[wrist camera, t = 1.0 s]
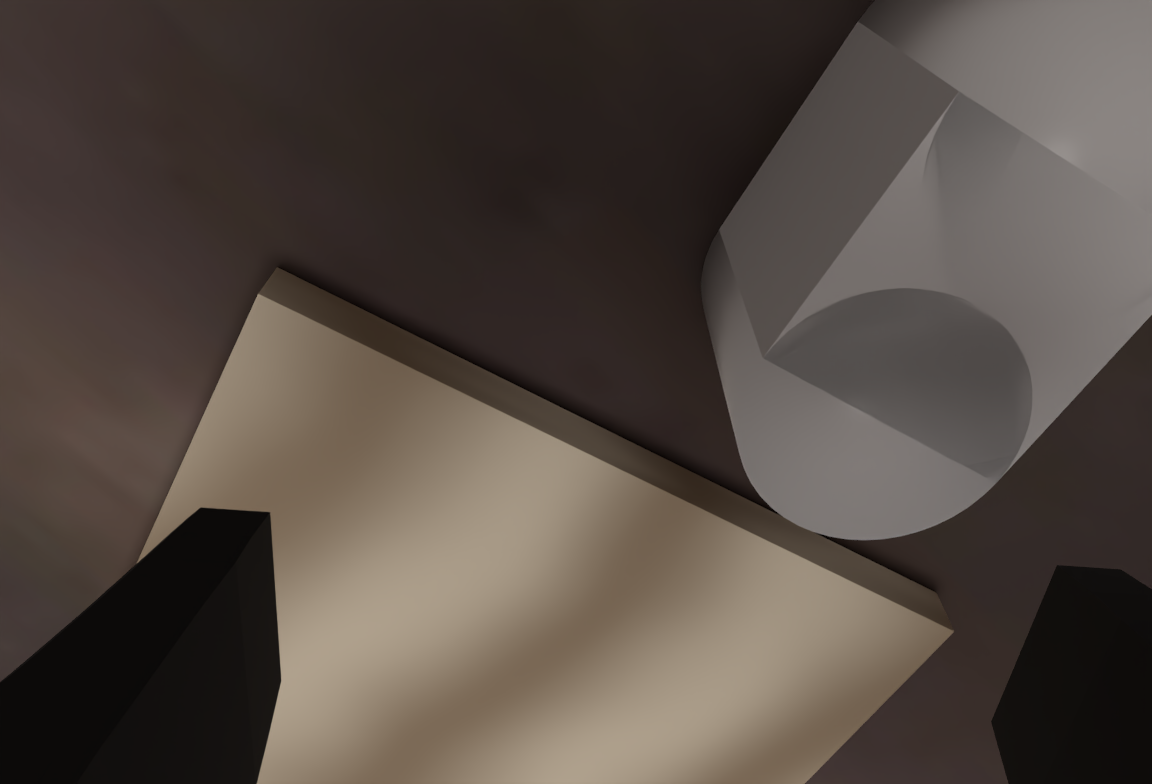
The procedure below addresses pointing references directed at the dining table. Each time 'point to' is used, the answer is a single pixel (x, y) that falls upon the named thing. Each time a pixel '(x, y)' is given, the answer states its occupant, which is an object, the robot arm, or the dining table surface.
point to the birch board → (522, 579)
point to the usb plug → (935, 256)
